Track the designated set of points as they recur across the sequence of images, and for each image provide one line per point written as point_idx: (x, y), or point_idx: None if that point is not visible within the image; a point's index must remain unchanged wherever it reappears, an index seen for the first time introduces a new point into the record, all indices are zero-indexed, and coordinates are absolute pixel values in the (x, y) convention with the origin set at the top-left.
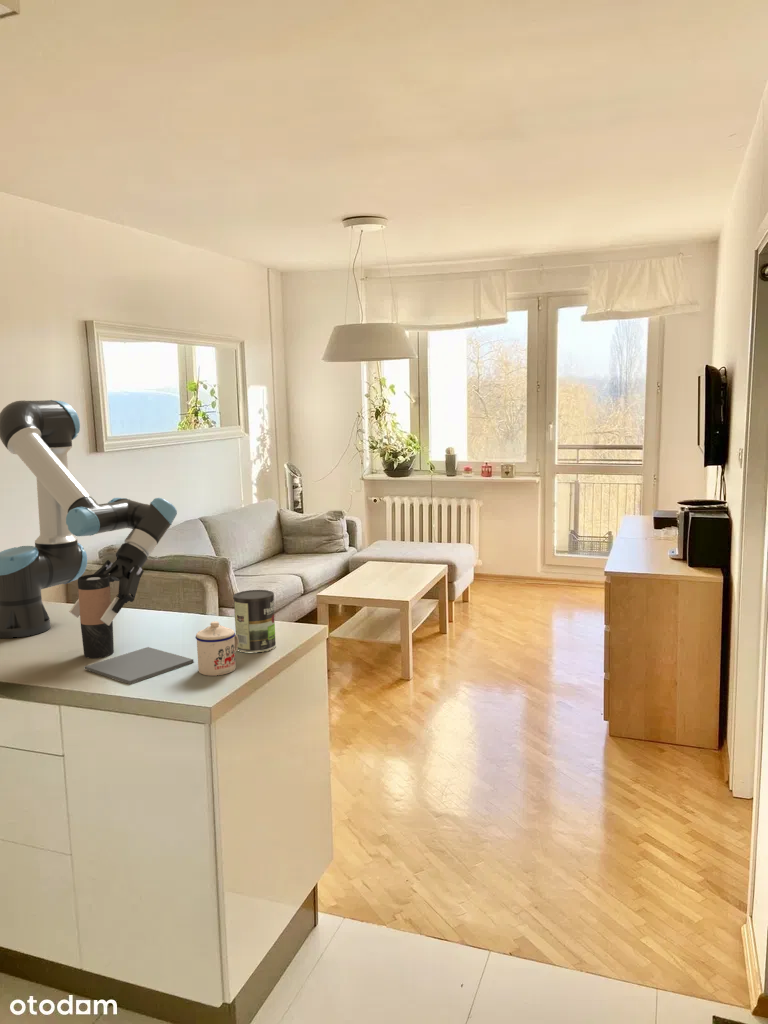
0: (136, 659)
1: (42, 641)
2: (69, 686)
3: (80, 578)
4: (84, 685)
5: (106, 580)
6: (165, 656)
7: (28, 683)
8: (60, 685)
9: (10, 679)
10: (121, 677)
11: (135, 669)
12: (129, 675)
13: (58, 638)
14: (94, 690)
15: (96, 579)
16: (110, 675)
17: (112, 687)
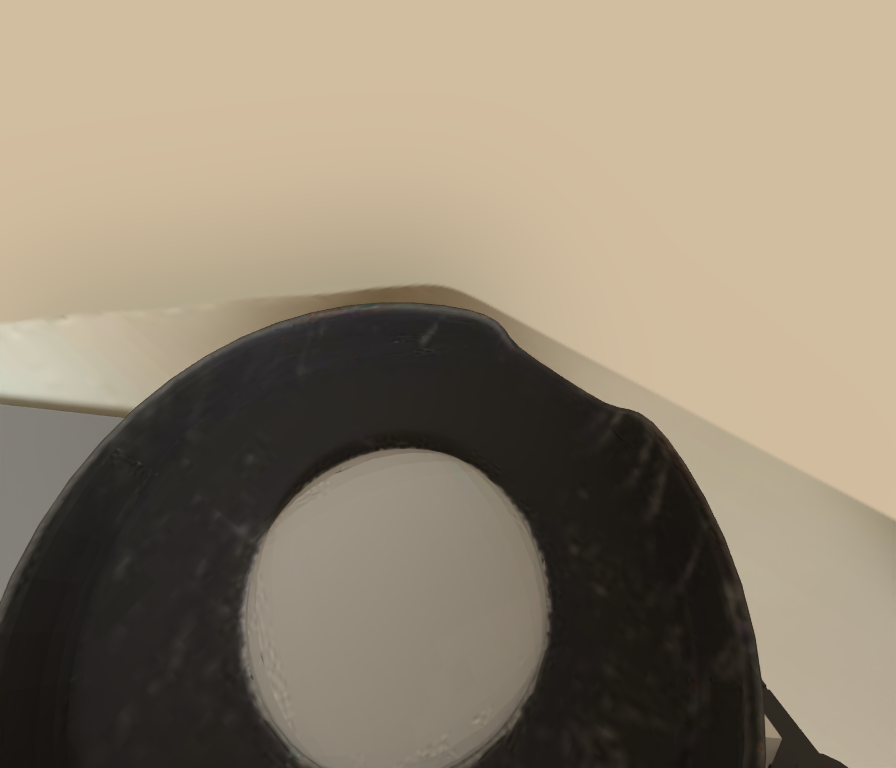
0: None
1: (831, 620)
2: (215, 317)
3: (654, 468)
4: (168, 339)
5: (24, 717)
6: None
7: (368, 289)
8: (253, 312)
9: (451, 289)
10: (31, 412)
11: (13, 507)
12: (4, 441)
13: (840, 709)
14: (99, 324)
15: (258, 554)
16: (105, 417)
17: (44, 363)
